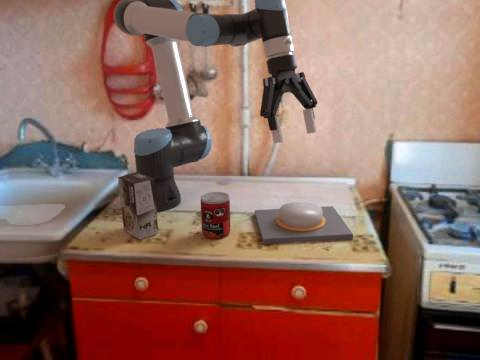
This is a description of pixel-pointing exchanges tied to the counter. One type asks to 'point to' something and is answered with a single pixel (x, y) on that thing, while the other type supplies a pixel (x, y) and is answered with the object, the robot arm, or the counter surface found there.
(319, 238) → the base
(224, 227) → the canned food
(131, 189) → the coffee box
